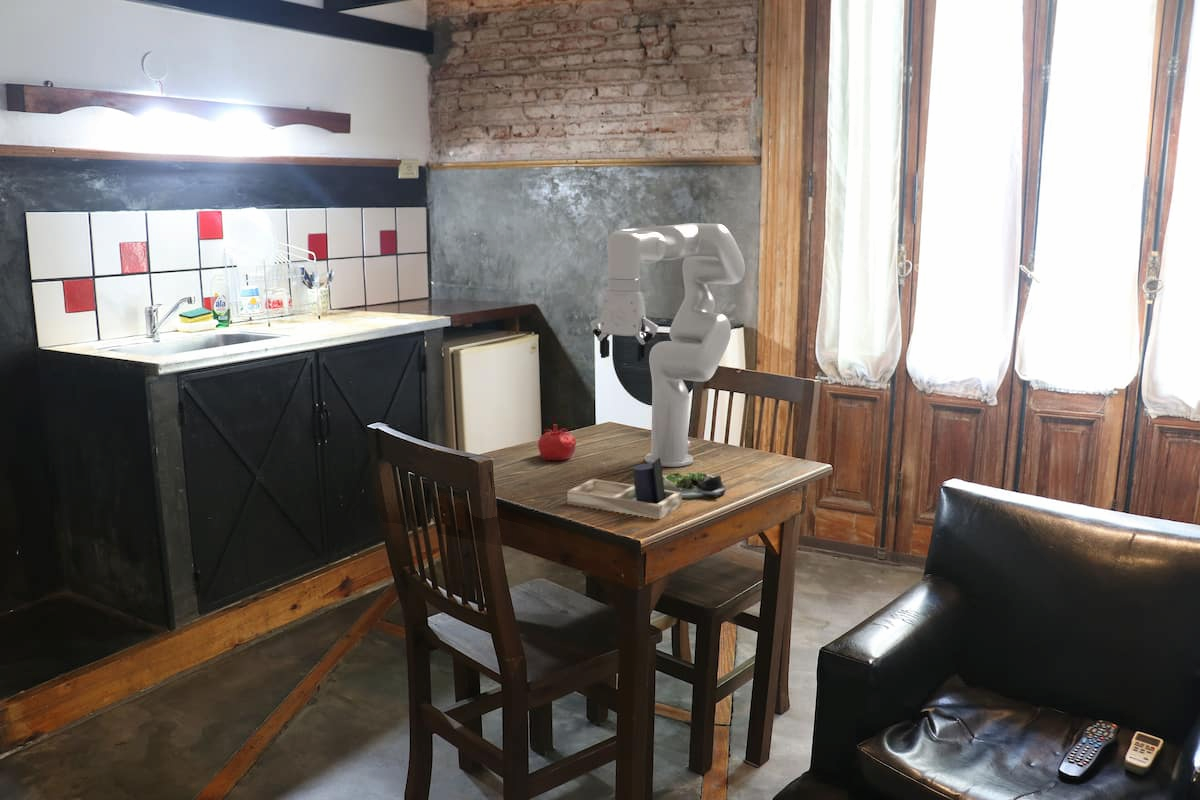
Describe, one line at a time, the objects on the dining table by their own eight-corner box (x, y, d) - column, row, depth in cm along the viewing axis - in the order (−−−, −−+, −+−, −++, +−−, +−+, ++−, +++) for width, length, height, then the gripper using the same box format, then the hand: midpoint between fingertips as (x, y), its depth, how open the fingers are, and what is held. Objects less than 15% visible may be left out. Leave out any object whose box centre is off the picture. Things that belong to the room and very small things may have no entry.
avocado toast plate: (647, 503, 225) (648, 483, 224) (637, 481, 242) (637, 463, 241) (731, 501, 227) (732, 482, 226) (715, 480, 244) (715, 462, 243)
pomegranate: (571, 464, 256) (572, 430, 254) (534, 462, 258) (534, 427, 256) (578, 454, 266) (579, 421, 264) (542, 452, 267) (542, 418, 265)
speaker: (674, 502, 219) (670, 457, 218) (659, 510, 215) (655, 463, 213) (646, 499, 224) (642, 455, 222) (631, 506, 220) (627, 461, 218)
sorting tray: (592, 490, 232) (592, 478, 232) (681, 505, 222) (681, 492, 221) (567, 504, 222) (567, 491, 221) (659, 519, 212) (659, 506, 211)
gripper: (583, 285, 231) (583, 358, 235) (651, 289, 223) (649, 364, 227) (598, 283, 238) (598, 354, 241) (664, 286, 230) (663, 359, 233)
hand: (623, 358), depth 234 cm, fingers open, 9 cm apart
